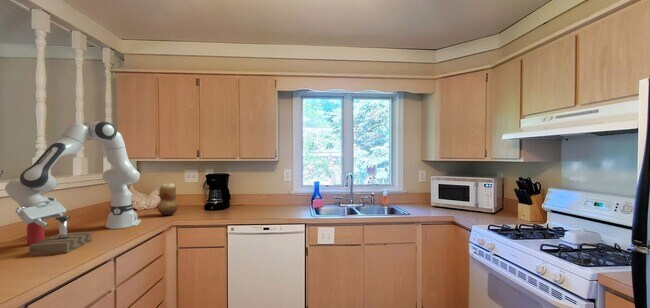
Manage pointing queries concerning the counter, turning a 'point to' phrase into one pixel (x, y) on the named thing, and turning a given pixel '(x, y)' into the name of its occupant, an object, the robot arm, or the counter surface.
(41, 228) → the beer can
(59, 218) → the steel peg
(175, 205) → the butternut squash
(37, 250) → the brown flat block
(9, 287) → the counter surface
